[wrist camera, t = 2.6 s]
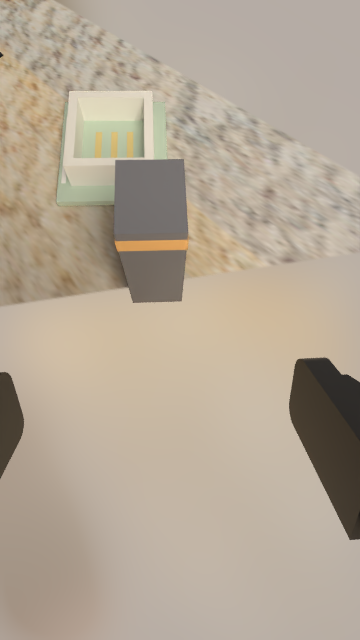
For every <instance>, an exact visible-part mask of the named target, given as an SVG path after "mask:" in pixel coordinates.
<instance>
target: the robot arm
mask: <svg viewBox="0 0 360 640" xmlns="http://www.w3.org/2000/svg"><path fill="white" fill-rule="evenodd" d="M289 409H290V416H291V420H292V423H293V425H294V428H295V429H296V431H297V434H298V436H299V437H300V440H301V442H302V444H303V446H304V448H305V450H306V452H307V454H308V456H309V458H310V460H311V462H312V464H313V466H314V468H315V470H316V472H317V474H318V476H319V478H320V480H321V482H322V484H323V486H324V488H325V490H326V492H327V494H328V496H329V498H330V500H331V502H332V504H333V506H334V508H335V511H336V512H337V515H338V517H339V519H340V521H341V523H342V525H343V527H344V529H345V531H346V533H347V535H348V537H349V539H350V540H355V539H360V382H358V381H357V380H355V379H354V378H352V377H351V376H349V375H341V374H340V372H339V371H338V370H337V369H336V368H335V366H334V365H333V364H332V363H331V361H330V360H329V359H327V358H307V359H298V360H297V362H296V364H295V369H294V376H293V382H292V389H291V395H290V402H289ZM23 427H24V419H23V414H22V410H21V407H20V404H19V401H18V397H17V394H16V391H15V387H14V384H13V381H12V378H11V376H10V375H9V374H8V373H6V372H2V373H0V478H1V476H2V474H3V472H4V470H5V468H6V466H7V464H8V462H9V460H10V459H11V457H12V454H13V453H14V450H15V449H16V447H17V444H18V443H19V441H20V439H21V436H22V433H23Z"/></svg>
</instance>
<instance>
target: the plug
mask: <svg viewBox="0 0 360 640" xmlns="http://www.w3.org/2000/svg"><path fill="white" fill-rule="evenodd" d="M114 237H115V245H116V248H117V251H119V255H120V258H121V262H122V265H123V269H124V272H125V276H126V280H127V283H128V287H129V290H130V294H131V297H132V300H133V303H139V302H172V301H182V290H183V281H184V271H185V261H186V250H188V221H187V204H186V188H185V171H184V159H162V160H115V197H114Z"/></svg>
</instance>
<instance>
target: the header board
mask: <svg viewBox="0 0 360 640" xmlns="http://www.w3.org/2000/svg"><path fill="white" fill-rule="evenodd" d="M162 159H167V141H166V116H165V102H153V96H152V91H69V102H65V110H64V121H63V133H62V144H61V155H60V166H59V177H58V188H57V200H56V202H57V204H58V206H102V205H114V197H115V160H162Z"/></svg>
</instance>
